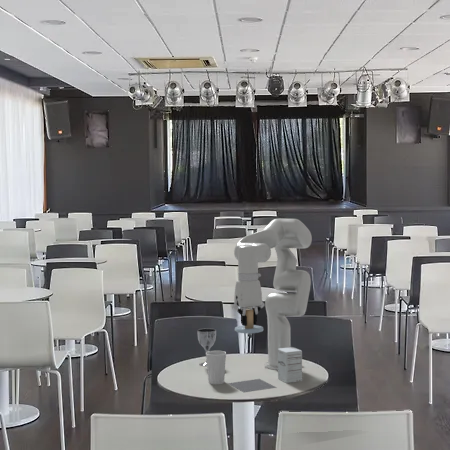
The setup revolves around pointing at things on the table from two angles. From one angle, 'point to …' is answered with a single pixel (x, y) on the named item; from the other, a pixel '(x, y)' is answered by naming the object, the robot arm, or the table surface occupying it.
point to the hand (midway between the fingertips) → (248, 324)
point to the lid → (249, 324)
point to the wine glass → (206, 339)
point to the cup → (216, 366)
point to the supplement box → (289, 364)
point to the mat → (251, 385)
